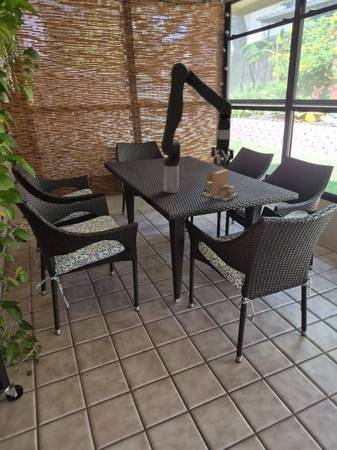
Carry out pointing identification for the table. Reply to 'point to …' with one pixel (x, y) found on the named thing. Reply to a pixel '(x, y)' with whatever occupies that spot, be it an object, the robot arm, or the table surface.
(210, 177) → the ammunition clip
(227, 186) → the ash slotted base
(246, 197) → the table surface
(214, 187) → the terracotta slotted plate
